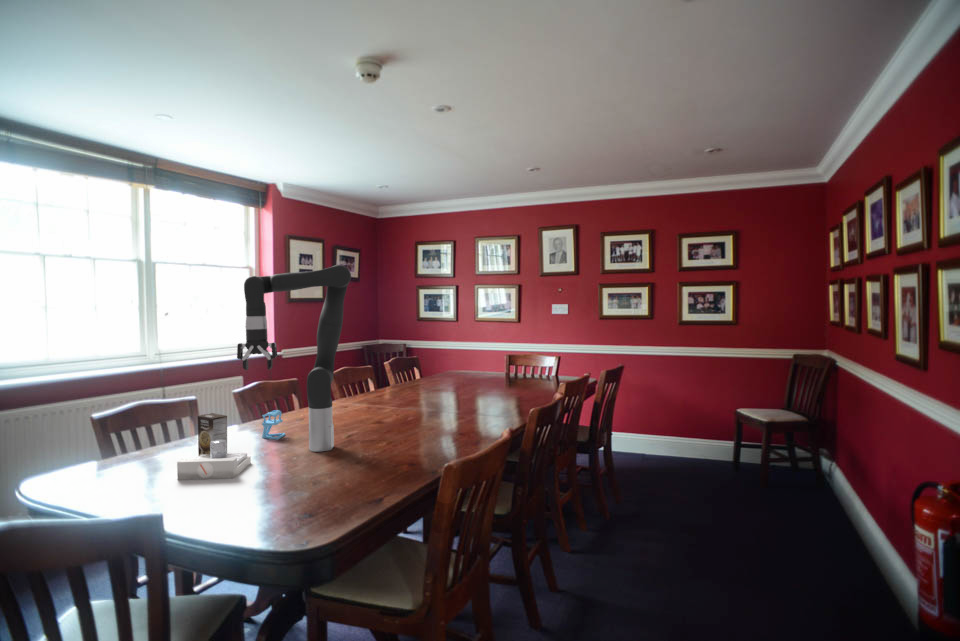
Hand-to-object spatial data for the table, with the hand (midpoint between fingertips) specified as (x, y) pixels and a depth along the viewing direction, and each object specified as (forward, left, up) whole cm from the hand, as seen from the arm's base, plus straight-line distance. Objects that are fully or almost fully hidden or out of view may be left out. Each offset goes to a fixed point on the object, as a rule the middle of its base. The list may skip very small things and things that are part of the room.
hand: (257, 369), depth 193 cm
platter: (+9, +16, -31) cm, 36 cm away
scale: (+9, +18, -33) cm, 39 cm away
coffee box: (+17, +1, -34) cm, 37 cm away
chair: (+3, -26, -34) cm, 42 cm away
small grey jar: (+9, +16, -29) cm, 35 cm away
